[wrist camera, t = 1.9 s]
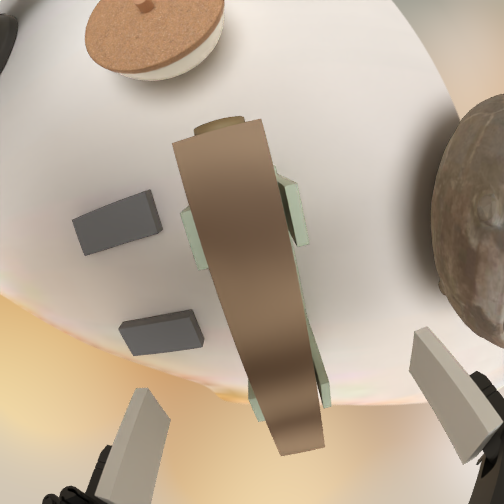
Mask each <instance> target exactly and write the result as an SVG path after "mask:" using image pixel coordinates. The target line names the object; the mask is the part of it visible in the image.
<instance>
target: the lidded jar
mask: <svg viewBox="0 0 504 504" xmlns="http://www.w3.org/2000/svg"><path fill="white" fill-rule="evenodd" d="M223 24H224V0H100V2H99V3H98V4H97V6H96V7H95V9H94V10H93V12H92V14H91V16H90V18H89V20H88V23H87V26H86V32H85V45H86V48H87V51H88V53H89V55H90V57H91V58H92V59H93V60H94V61H95V62H96V63H97V64H99V65H100V66H102V67H103V68H105V69H108V70H111V71H113V72H116V73H118V74H121V75H123V76H126V77H129V78H133V79H137V80H146V81H157V80H164V79H169V78H173V77H176V76H179V75H181V74H183V73H186V72H188V71H189V70H191V69H193V68H194V67H196V66H197V65H198V64H200V63H201V62H202V61H203V60H204V59H205V58H206V57H207V56H208V55H209V54H210V53H211V52H212V50H213V49H214V48H215V46H216V44H217V42H218V41H219V38H220V35H221V32H222V30H223Z"/></svg>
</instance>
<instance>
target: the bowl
mask: <svg viewBox="0 0 504 504" xmlns="http://www.w3.org/2000/svg"><path fill="white" fill-rule="evenodd" d="M431 234H432V245H433V253H434V259H435V266H436V269H437V272H438V275H439V278H440V281H439V288H440V291H441V292H442V293H443V294H444V295H446V296H447V298H448V300H449V302H450V304H451V305H452V307H453V308H454V310H455V311H456V313H457V314H458V316H459V317H460V318H461V319H462V321H463V322H464V323H465V325H467V326H468V327H469V328H470V329H471V330H472V331H473V332H474V333H476V334H477V335H478V336H480V337H482V338H484V339H486V340H488V341H489V342H491V343H493V344H495V345H497V346H499V347H501V348H504V94H500V95H497V96H494V97H491V98H489V99H487V100H485V101H483V102H481V103H479V104H478V105H476V106H475V107H474V108H473V109H471V110H470V111H469V112H468V113H467V114H466V115H465V116H464V117H463V118H462V120H461V121H460V123H459V125H458V127H457V129H456V130H455V132H454V134H453V136H452V137H451V139H450V141H449V142H448V144H447V146H446V148H445V151H444V154H443V157H442V160H441V162H440V166H439V169H438V172H437V175H436V180H435V186H434V191H433V196H432V202H431Z"/></svg>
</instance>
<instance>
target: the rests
mask: <svg viewBox="0 0 504 504" xmlns="http://www.w3.org/2000/svg"><path fill="white" fill-rule="evenodd" d="M72 222H73V225H74V228H75V231H76V233H77V236H78V239H79V242H80V245H81V247H82V250H83V253H84V255H85V256H87V255H90V254H93V253H96V252H99V251H102V250H105V249H108V248H112V247H115V246H118V245H121V244H124V243H128V242H131V241H134V240H138V239H141V238H144V237H148V236H151V235H154V234H158V233H159V232H160V231H161V230H162V226H161V222H160V219H159V216H158V213H157V210H156V207H155V203H154V200H153V197H152V193H151V190H147V191H144V192H141V193H139V194H136V195H133V196H130V197H128V198H125V199H122V200H120V201H117V202H114V203H112V204H109V205H107V206H104V207H102V208H99V209H97V210H94V211H92V212H89V213H87V214H85V215H82V216H80V217H78V218H75V219H73V220H72ZM119 331H120V333H121V335H122V337H123V339H124V340H125V342H126V344H127V346H128V348H129V349H130V351H131V353H132V354H133V356H138V355H148V354H157V353H165V352H173V351H180V350H187V349H194V348H201V347H203V342H204V337H203V335H202V333H201V330H200V328H199V326H198V323H197V321H196V318H195V316H194V313H193V311H192V310H188V311H183V312H177V313H172V314H167V315H161V316H156V317H150V318H144V319H138V320H132V321H126V322H123V323H122V324H121V326H120V327H119Z"/></svg>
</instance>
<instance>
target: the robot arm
mask: <svg viewBox="0 0 504 504" xmlns="http://www.w3.org/2000/svg"><path fill="white" fill-rule="evenodd" d="M17 27H18V24H17V19H16V18H15V17H13V16H11V15H8V14H0V73H1V71H2V69H3V67H4V65H5V63H6V61H7V59H8V57H9V54H10V52H11V49H12V47H13V44H14V41H15V38H16V34H17ZM409 372H410V373H411V375H412V376H413V378H414V379H415V381H416V383H417V384H418V386H419V387H420V389H421V391H422V392H423V394H424V396H425V397H426V399H427V401H428V402H429V404H430V406H431V407H432V409H433V410H434V412H435V414H436V416H437V418H438V419H439V421H440V423H441V424H442V426H443V428H444V430H445V432H446V433H447V435H448V437H449V439H450V440H451V442H452V444H453V446H454V448H455V450H456V452H457V454H458V456H459V458H460V460H461V461H462V463H463V465H464V464H465V463H467V462H469V461H470V460H472V459H473V458H474V457H476V456H477V455H478V454H479V453H480V452H481V451H482V450H483V452H484V454H483V455H482V456H481V458H480V459H479V460H478V462H477V464H476V465H478V464H479V463H480V462H481V461H482V462H481V466H480V470H479V474H478V477H477V480H476V483H475V486H474V489H473V492H472V495H471V498H470V501H469V503H468V504H504V398H503V397H502V395H501V394H500V393H499V392H498V391H497V389H496V388H495V387H494V385H492V383H491V382H490V380H489V379H488V378H487V377H486V376H485V375H483V374H482V373H480V372H478V371H476V372H474V373H473V374H471V375H468V374H467V372H466V371H465V370H464V369H463V367H462V366H461V365H460V364H459V362H458V361H457V360H456V359H455V358H454V356H453V355H452V354H451V353H450V352H449V351H448V349H447V348H446V347H445V346H444V345H443V344H442V342H441V341H440V340H439V339H438V338H437V337H436V336H435V334H434V333H433V332H432V331H431V330H430V329H429V328H428V327H424V328H422V329H419V330H417V331H414V340H413V348H412V355H411V361H410V367H409ZM169 424H170V418H169V417H168V415H167V414H166V413H165V411H164V410H163V409H162V407H161V406H160V405H159V403H158V402H157V400H156V399H155V397H154V396H153V394H152V393H151V391H150V390H149V389H148V388H136V389H135V392H134V394H133V396H132V398H131V401H130V403H129V406H128V408H127V410H126V413H125V415H124V418H123V420H122V422H121V425H120V427H119V430H118V433H117V435H116V438H115V440H114V443H113V445H112V446H110V445H107V446H106V447H105V448H104V449H103V451H102V452H101V453H100V456H99V459H98V462H97V464H96V466H95V469H94V472H93V474H92V477H91V480H90V482H89V485H88V488H87V490H86V492H85V493H83V492H81V491H80V490H79V489H77V488H76V487H73V486H67V487H65V488H64V489H63V490H62V491H61V492H60V496H59V497H58V496H56V495H55V494H48V495H46V496H45V497H44V499H43V502H42V504H151V500H152V496H153V491H154V487H155V482H156V478H157V473H158V469H159V465H160V461H161V457H162V453H163V448H164V444H165V440H166V437H167V433H168V429H169Z"/></svg>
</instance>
